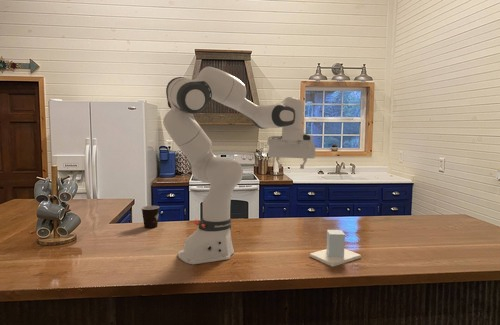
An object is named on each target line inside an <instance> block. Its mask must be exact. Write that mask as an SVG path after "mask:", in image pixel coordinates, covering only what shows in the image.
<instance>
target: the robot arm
mask: <svg viewBox="0 0 500 325" xmlns="http://www.w3.org/2000/svg"><path fill="white" fill-rule="evenodd" d="M165 92H166V93H165V95H166V99H167V107H168V108H169V109H170V110H169V111H167V112H166V114H165V115H164V117H163V121H162V123H163V126H164V128H165V130H166V131H167V133H168V135H169V137H170V138H171V139H172V141H173V143H175V145H176V146H177V147H178V148H179V149H180V151H181V152H182V153H183V154H184V156H185V157H186V159H187V160H188V161H189V164H190V166H191V168H190V169H191V170H190V171H191V174H192V177H194V179H196V180H198V181H200V182H202V183H206V184H208V185H209V184H210V185H209V189H208V193H207V195H205V196H204V197H203V198H202V218H201V219H200V220H199V219H194V220H193V224H194V225H196V226H198V227H197V229H196V230H195V231H193V232H192V234H190V235H189V236H188V237H186V239H185V241H184V245H183V249H182V250H178V252H177V257H178V258H179V259H180V260H181V261H182V262H184V263H186V264H189V265H198V264H205V263H212V262H213V263H214V262H217V261H225V260H230V259H231V256H232V255H233V254H234V253H235V250H234V246H233V242H232V236H231V235H232V234H231V230H232V217H231V200H232V195H233V193H234V192H233V191H234V190H235V188H236V187H237V186H238V185H239V183H241V182H242V178H243V176H244V170H243V166H242V165H241V163H239V162H238V161H236V160H234V159H231V158H228V157H227V158H226V157H219V156H216V155H215V154H214V153H213V150H212V146H213V145H212V144H213V142H212V140H211V139H210V137H209V136H208V135H207V134H206V132H205V131H204V129H203V128H202V126H201V125H200V124H199V123H198V122H197V120H196V119H195V116H194V114H199V113H201V112H202V111H203V110H204V109H205V108H206V107H207V105H208V103H210V101H211V100H214V101H215V102H217V103H219V104H221V105H223V106H225V107H228V108H230V109H233V110H235V111H236V112H238V113H240V114H241V115H243V116H244V117H246V118H248V119H249V120H250V121H251V122H252V123H253V125H254V126H256V127H257V128H258V129H263V130H266V129H278V128H281V135H271V136H269V137H268V139H267V145H268V151H267V156H268V157H269V158H275V161H276V162H277V164H278V167H277V168H278V169H282V168H283V167H282V166H283V164H282V163H280V158H281V159H282V158H283V159H285V158H286V159H287V158H288V159H289V158H291V159H302V161H303V162H302V163H301V164H300V165H299V166H300V168H299V169H301V170H305V165H306V163H307V161H308V159H315V157H316V144H315V143H314V142H313V141H314V136H313V135H311V134H308V133H304V128H303V121H304V104H303V101H302V100H301V99H300V98H297V97H292V96H291V97H285V98H284V99H283V100H282V101H280V102H278V103H275V104H268V105H257V104H255V103H254V102H252V101H251V100H250V99H249V100H248V99H247V98H246V97H247V87H246V84H245V83H244V82H242V80H240V79H239V78H238V77H236V76H234V75H232V74H230V73H229V72H226V71H224V70H222V69H220V68H216V67H213V66H205V67H204V68H202V69H201V70H200V71H199V72H198V75H197V77H196V78H195V79H191V78H187V77H183V76H178V77H174V78H173V79H171V80H169V81H168V83H167V86H166V88H165Z"/></svg>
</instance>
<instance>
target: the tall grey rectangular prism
mask: <svg viewBox="0 0 500 325" xmlns="http://www.w3.org/2000/svg"><path fill="white" fill-rule="evenodd" d="M345 238H346V234H345V233H344V231H343V230H342V229H327V230H326V252H327V254H328V256H329V257H344V249H345V245H346V244H345V242H346V240H345Z"/></svg>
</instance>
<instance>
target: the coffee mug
mask: <svg viewBox="0 0 500 325" xmlns="http://www.w3.org/2000/svg"><path fill="white" fill-rule="evenodd" d="M159 212H160V206H158V205H145V206H143V207H141V213H142V220H143V227H144V229H148V230H150V229H156V228H157V227H158V225H159V224H158V223H159V215H160V213H159Z"/></svg>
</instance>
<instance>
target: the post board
mask: <svg viewBox="0 0 500 325" xmlns="http://www.w3.org/2000/svg"><path fill="white" fill-rule="evenodd" d="M326 249H327V248H326ZM326 249H322V250H317V251H314V252H310V253H309V257H310V258H312V259H314V260H317V261H319V262H321V263H323V264H325V265H327V266H330V267H336V266H340V265H343V264H346V263H349V262H352V261H356V260H358V259H361V258H362V254H359V253H357V252H354V251H352V250H350V249H346V248H344V257H329V256H328V254H327V252H326Z"/></svg>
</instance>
